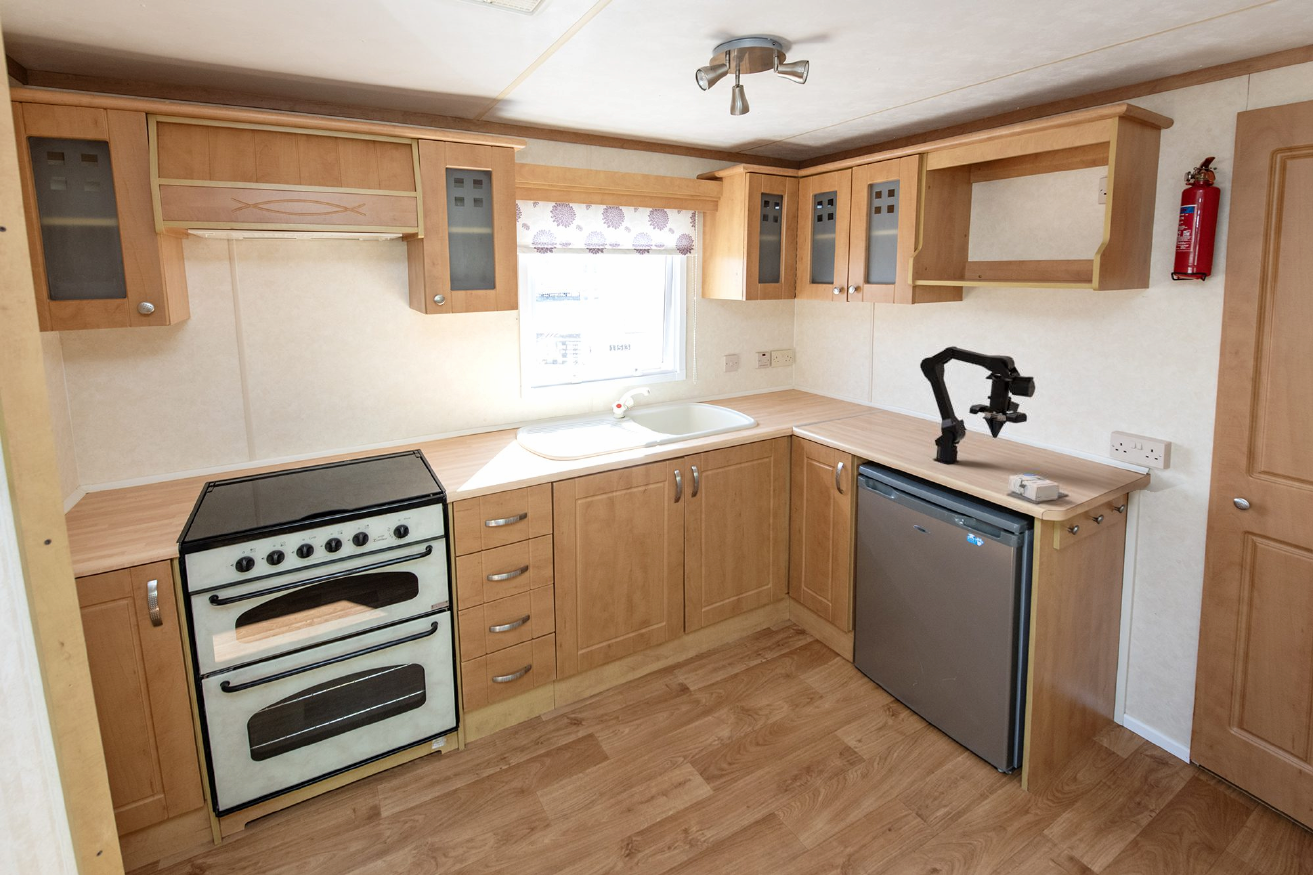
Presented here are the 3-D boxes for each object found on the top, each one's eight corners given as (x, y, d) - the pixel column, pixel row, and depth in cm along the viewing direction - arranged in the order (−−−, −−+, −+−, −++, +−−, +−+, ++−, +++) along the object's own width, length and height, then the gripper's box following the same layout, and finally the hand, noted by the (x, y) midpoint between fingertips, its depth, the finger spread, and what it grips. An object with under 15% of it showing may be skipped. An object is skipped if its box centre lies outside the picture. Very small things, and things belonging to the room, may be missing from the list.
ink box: (1031, 473, 235) (1060, 483, 224) (1029, 488, 236) (1058, 499, 225) (1009, 475, 232) (1037, 485, 221) (1007, 490, 234) (1035, 501, 223)
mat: (1006, 494, 230) (1006, 493, 230) (1038, 487, 238) (1038, 485, 237) (1035, 504, 222) (1035, 503, 222) (1068, 495, 229) (1068, 494, 229)
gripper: (1040, 395, 244) (1034, 440, 248) (991, 386, 260) (987, 429, 264) (1018, 399, 239) (1013, 444, 243) (970, 389, 255) (966, 433, 259)
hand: (994, 437), depth 252 cm, fingers closed
